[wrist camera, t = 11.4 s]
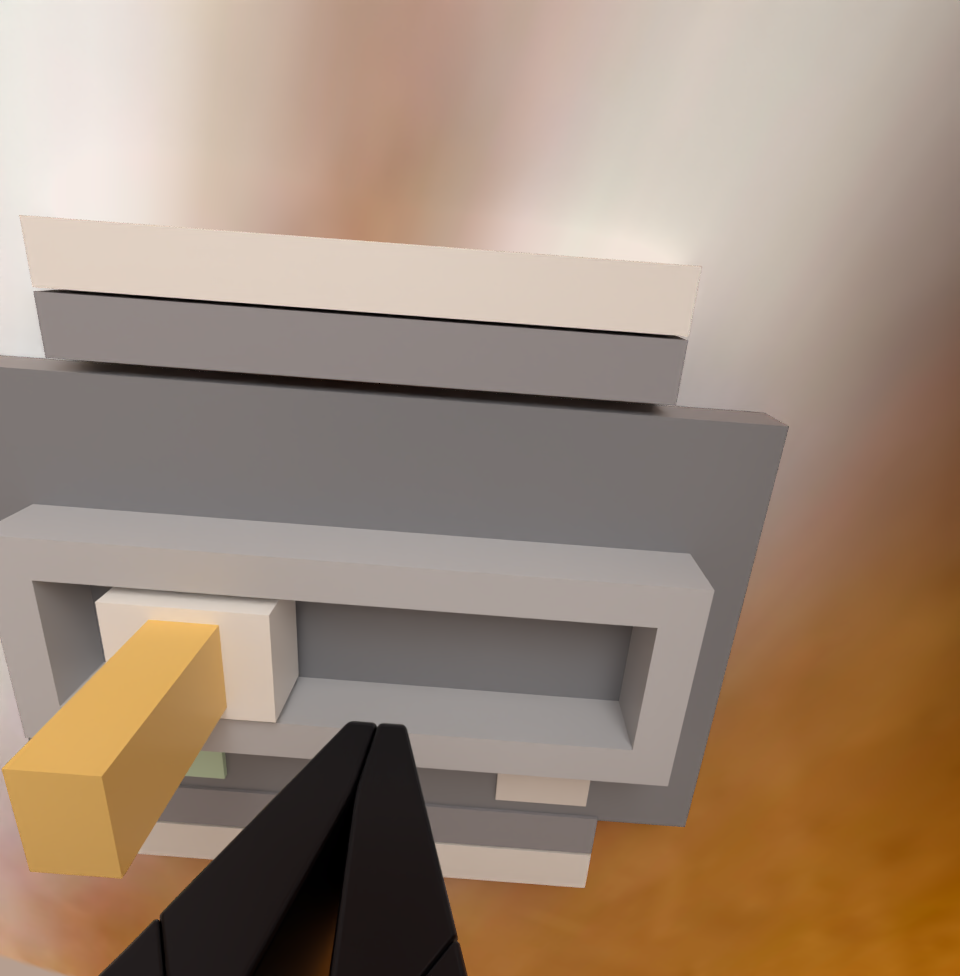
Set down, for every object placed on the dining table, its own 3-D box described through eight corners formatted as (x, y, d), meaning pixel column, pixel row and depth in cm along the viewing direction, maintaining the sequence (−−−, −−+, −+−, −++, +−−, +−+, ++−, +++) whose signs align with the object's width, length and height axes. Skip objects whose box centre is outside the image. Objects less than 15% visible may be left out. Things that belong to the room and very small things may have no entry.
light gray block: (590, 781, 22) (597, 819, 20) (578, 846, 23) (584, 887, 21) (149, 747, 22) (123, 783, 20) (160, 814, 23) (136, 853, 21)
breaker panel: (764, 412, 17) (829, 448, 13) (672, 790, 22) (703, 884, 18) (-19, 353, 17) (-144, 375, 13) (67, 744, 22) (-9, 829, 18)
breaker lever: (294, 576, 17) (171, 764, 11) (298, 675, 18) (190, 897, 12) (139, 564, 17) (-77, 745, 11) (154, 664, 18) (-32, 880, 12)
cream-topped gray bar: (682, 265, 15) (701, 266, 14) (659, 392, 17) (676, 404, 15) (65, 220, 15) (19, 215, 14) (86, 348, 17) (45, 357, 15)
